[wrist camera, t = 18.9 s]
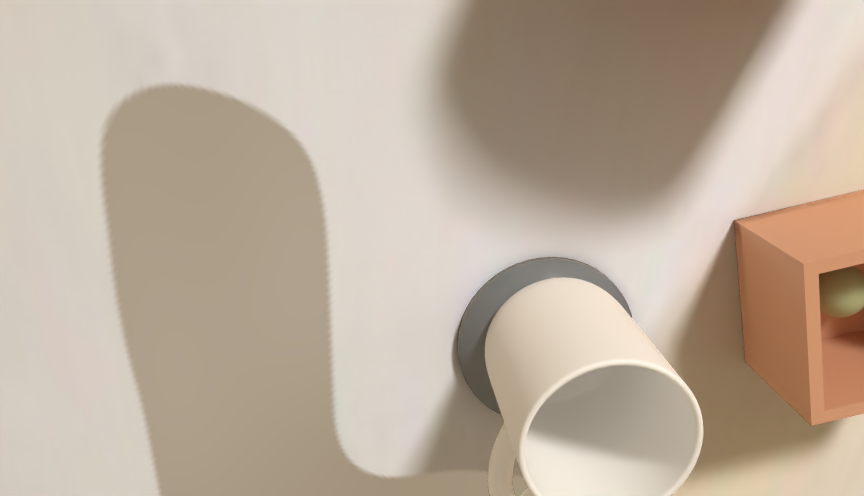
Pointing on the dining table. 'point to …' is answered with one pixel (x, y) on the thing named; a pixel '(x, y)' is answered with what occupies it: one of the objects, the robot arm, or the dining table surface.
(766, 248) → the planter
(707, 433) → the dining table surface
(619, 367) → the mug
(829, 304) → the olive ball
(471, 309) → the slate coaster
